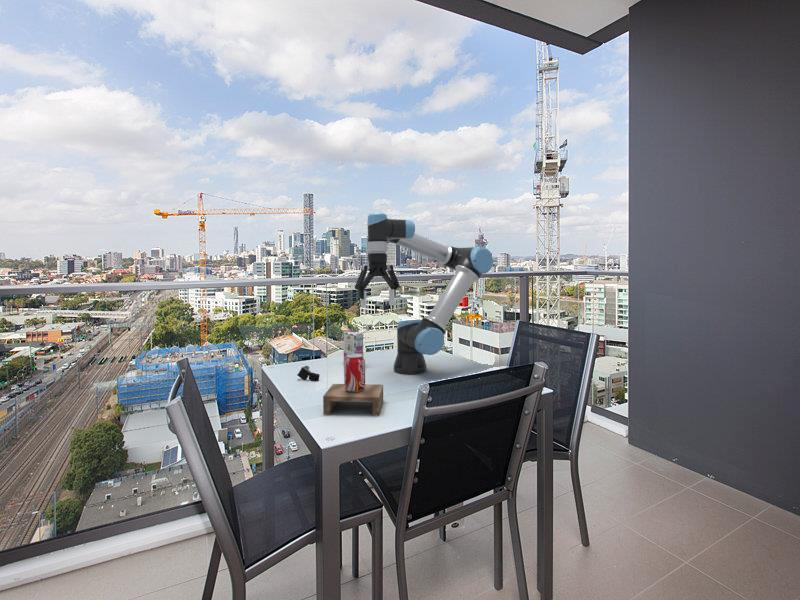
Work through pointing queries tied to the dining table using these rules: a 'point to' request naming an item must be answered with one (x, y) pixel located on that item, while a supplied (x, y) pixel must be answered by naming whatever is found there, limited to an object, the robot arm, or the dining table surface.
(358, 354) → the soda can
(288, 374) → the dining table surface
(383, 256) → the robot arm
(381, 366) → the dining table surface
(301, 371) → the lighter
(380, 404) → the walnut shelf
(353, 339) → the candy bar box
